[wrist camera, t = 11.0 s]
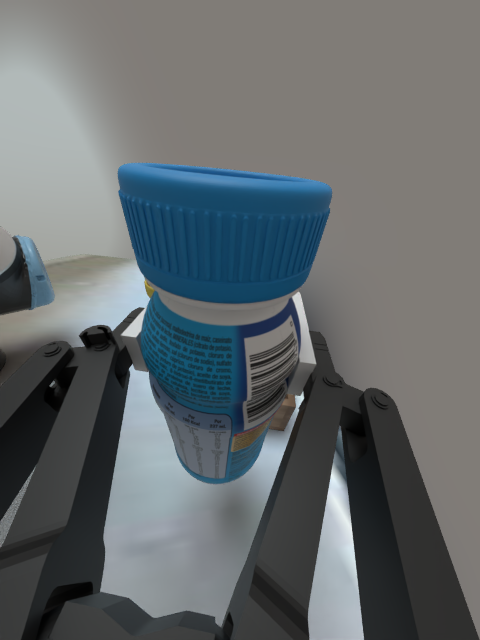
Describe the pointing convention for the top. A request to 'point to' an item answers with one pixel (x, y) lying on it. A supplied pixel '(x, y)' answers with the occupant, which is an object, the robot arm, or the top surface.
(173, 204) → the beverage bottle
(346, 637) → the top surface
